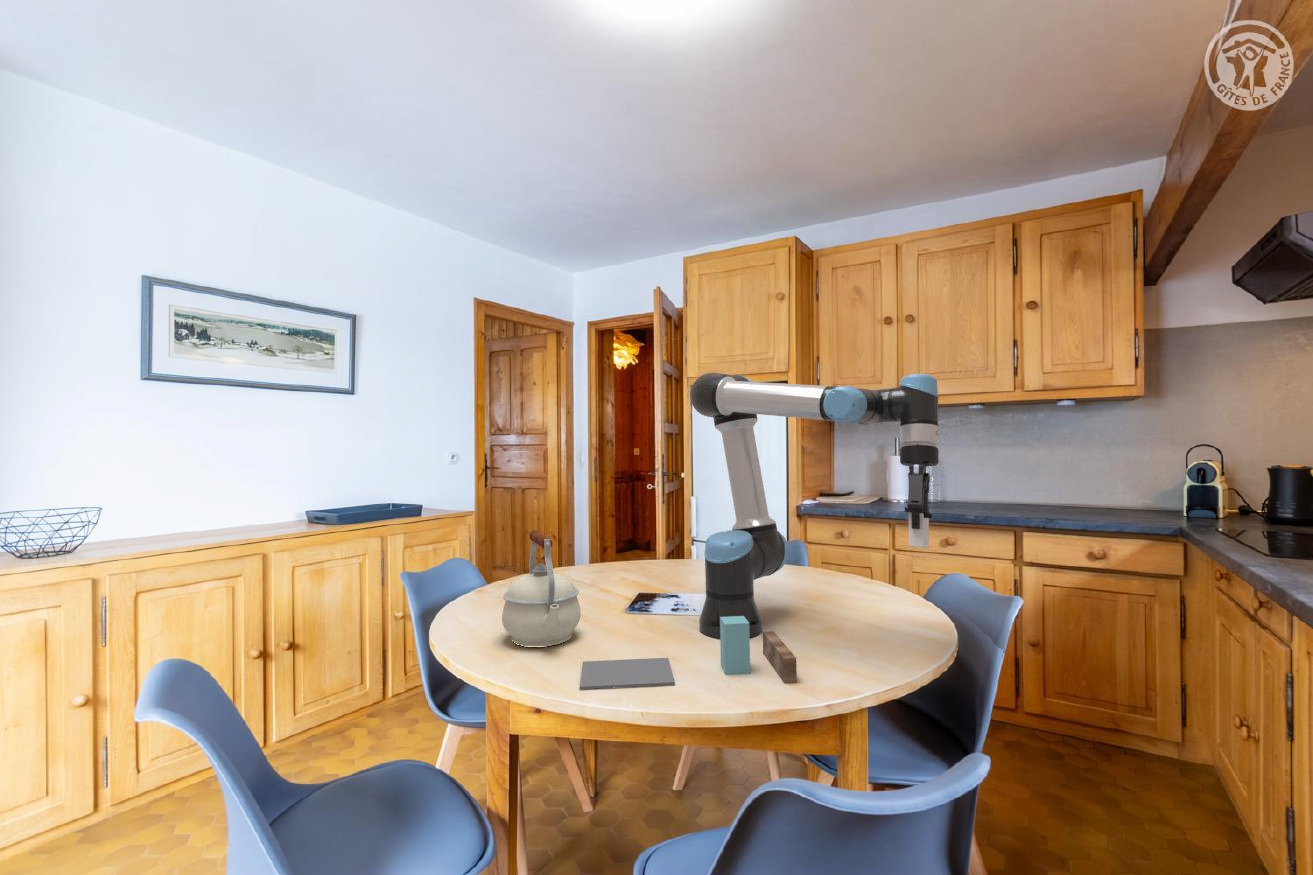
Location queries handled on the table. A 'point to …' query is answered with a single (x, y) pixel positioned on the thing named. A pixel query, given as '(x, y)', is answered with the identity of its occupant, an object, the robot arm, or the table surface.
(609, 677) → the mat
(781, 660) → the rail
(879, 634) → the table surface
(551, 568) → the kettle
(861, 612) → the table surface
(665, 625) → the table surface
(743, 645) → the block
